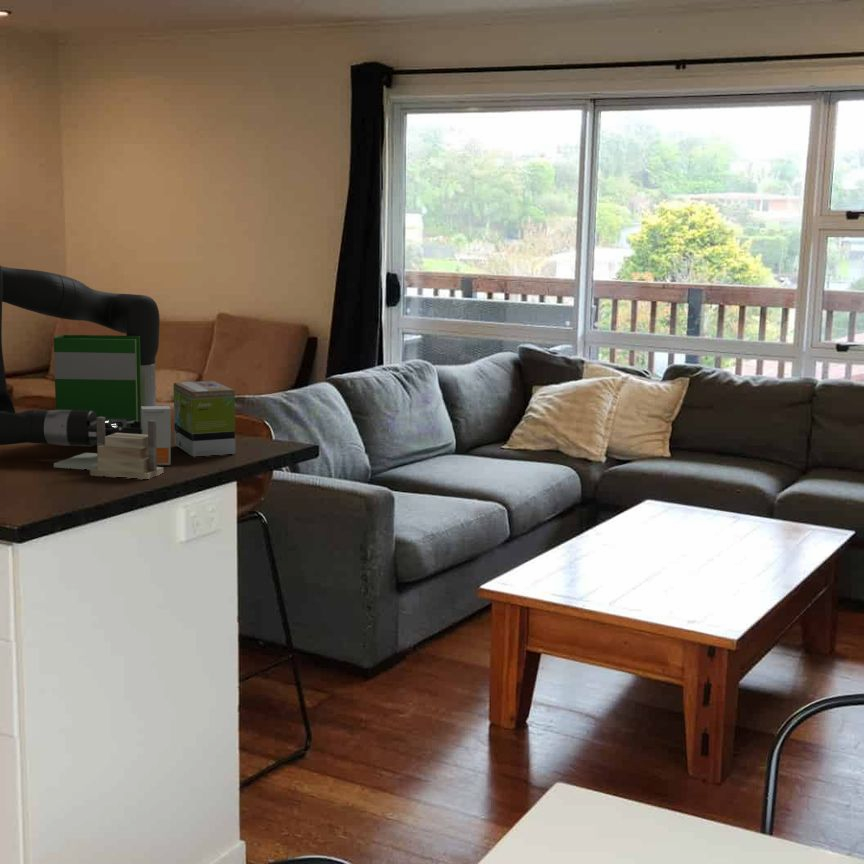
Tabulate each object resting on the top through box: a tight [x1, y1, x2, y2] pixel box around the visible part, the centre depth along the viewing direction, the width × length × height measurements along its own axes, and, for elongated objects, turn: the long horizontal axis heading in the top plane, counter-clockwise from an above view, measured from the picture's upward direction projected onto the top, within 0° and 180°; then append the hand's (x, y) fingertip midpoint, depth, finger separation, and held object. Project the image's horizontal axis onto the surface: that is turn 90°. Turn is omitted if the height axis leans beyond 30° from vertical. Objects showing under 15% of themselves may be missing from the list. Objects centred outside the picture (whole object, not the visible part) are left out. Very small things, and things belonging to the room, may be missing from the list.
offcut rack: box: [89, 417, 165, 480], centre depth 241 cm, size 7×12×11 cm, turn 77°
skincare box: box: [141, 405, 172, 466], centre depth 252 cm, size 6×4×12 cm
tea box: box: [173, 380, 236, 458], centre depth 268 cm, size 15×10×15 cm, turn 27°
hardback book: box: [53, 334, 141, 446], centre depth 274 cm, size 18×7×24 cm, turn 95°
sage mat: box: [53, 452, 98, 471], centre depth 252 cm, size 13×9×1 cm
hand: (147, 430), depth 252 cm, fingers open, 8 cm apart
